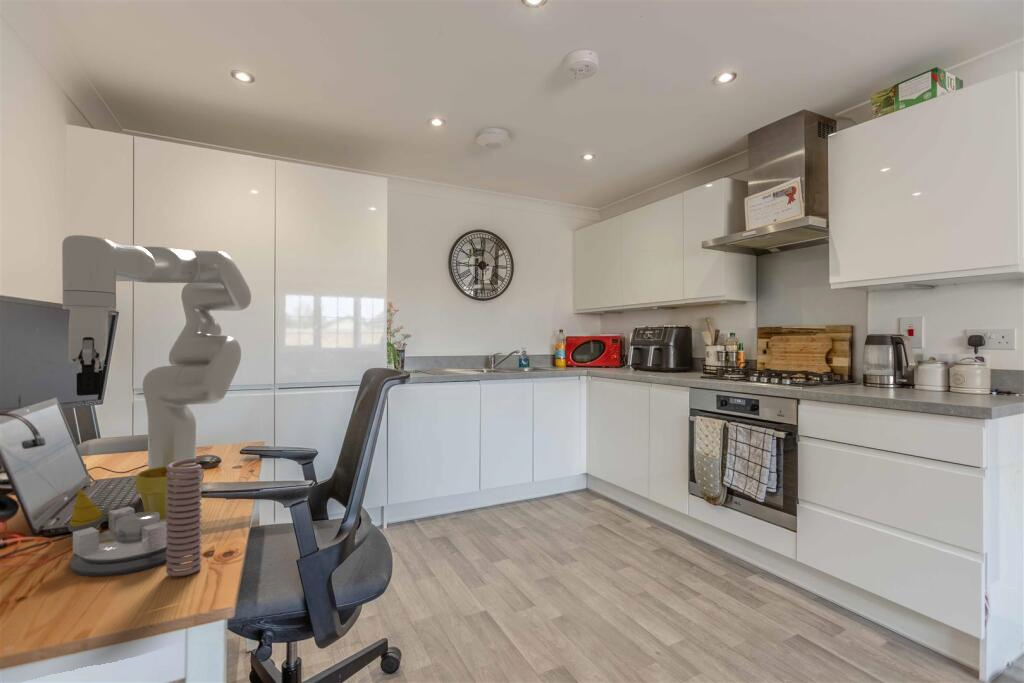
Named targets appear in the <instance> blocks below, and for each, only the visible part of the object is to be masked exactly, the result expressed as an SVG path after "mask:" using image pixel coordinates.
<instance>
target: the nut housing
mask: <svg viewBox="0 0 1024 683" xmlns="http://www.w3.org/2000/svg"><path fill="white" fill-rule="evenodd" d="M186 544H189V543H186ZM183 545H184V544H183ZM187 550H191V549H187ZM187 550H183V551H187ZM166 556H167V553H166V550H164V551H161V552H158V553H155V554H152V555H149V556H145V557H141V558H137V559H132V560H127V561H121V562H113V563H89V562H84V561H82V560H81V559H79V556H78V555H77V554H75V553H74V552H73V553H72V556H71V558H70V562H69V563H70V571H71V572H72V573H73V574H75V575H76V576H77V575H78V576H81V577H90V578H91V577H92V578H96V577H97V578H99V577H101V578H103V577H104V578H106V577H116V576H124V575H129V574H134V573H138V572H142V571H145V570H149V569H153V568H155V567H159V566H161V565H166V562H167V560H166Z"/></svg>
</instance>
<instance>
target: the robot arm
mask: <svg viewBox="0 0 1024 683" xmlns="http://www.w3.org/2000/svg"><path fill="white" fill-rule="evenodd" d="M61 246H62V247H61V248H62V250H61V254H62V260H61V261H62V267H61V270H62V272H61V274H62V275H61V276H62V310H66V311H67V310H68V311H69V318H68V319H69V320H68V321H69V322H68V353H67V354H68V357H67V360H68V362H70V363H71V364H72V363H76V362H77V360H78V362H77V373H76V396H79V397H81V396H96V395H101V392H102V390H103V388H104V371H103V369H102V362H103V361H104V360H106V356H107V350H108V337H109V336H108V335H109V334H108V332H109V329H108V328H109V312H116V311H117V282H136V283H147V284H185V285H184V286H183V288H182V289H181V297H180V298H181V302H182V307H183V312H184V316H185V325H184V327H183V329H182V330H181V332H180V334H179V335H178V337H177V339H176V341H175V342H174V344H173V346H172V347H171V349H170V351H169V354H168V361H169V365H164V366H163V365H162V366H158V367H156V368H153V369H151V370H149V371H148V372H147V373H146V374H145V375H144V377H143V380H142V392H143V398H144V400H145V406H146V412H147V469H151V468H156V467H161V466H167V465H168V464H170V463H172V462H175V461H179V460H183V459H189V458H197V421H196V417H195V415H194V413H193V412H192V411H191V409H190V407H189V406H188V405H211V404H212V405H213V404H217V403H219V402H220V401H222V400H223V399H224V398H225V396H226V395H227V393H228V390H229V388H230V387H231V384H232V382H233V379H234V377H235V376H236V373H237V372H238V368H239V366H240V363H241V359H242V349H241V345H240V343H239V341H238V340H237V339H236V338H234V337H232V336H228V335H222V327H221V324H220V323H219V322H218V321H217V319H216V318H215V317H214V316H212V314H211V312H210V311H214V312H215V311H218V312H219V311H228V312H231V311H232V312H235V311H236V312H237V311H238V312H239V311H243V310H245V309H247V308H248V307H249V306H250V304H251V301H252V292H251V290H250V287H249V285H248V283H247V281H246V279H245V278H244V276H243V274H242V273H241V271H240V269H239V267H238V266H237V264H236V263H235V261H234V259H233V258H232V257H231V256H229V255H228V253H226V252H224V251H220V250H195V249H194V250H193V249H192V250H191V249H182V248H181V249H180V248H173V247H165V246H139V245H136V244H128V243H127V244H126V243H119V242H113V241H111V240H109V239H106V238H105V237H104V238H103V237H99V236H92V235H91V236H90V235H84V234H83V235H82V234H81V235H80V234H79V235H76V234H74V235H68V236H66V237H65V238H64V239H63V240H62V245H61ZM190 464H197V463H188V464H182V465H190ZM140 497H141V495H140V494H139V498H140Z"/></svg>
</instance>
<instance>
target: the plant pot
mask: <svg viewBox="0 0 1024 683" xmlns="http://www.w3.org/2000/svg"><path fill="white" fill-rule="evenodd" d="M179 466H184V465H178V466H175V468H176V467H179ZM166 467H167V466H161V467H156V468H151V469H148V468H147V469H144V470H142V471H140V472H138V473H137V474H136V476H135V490H136V492H137V493H138V494H139V496H140V495H141V499H142V505H143V510H144V512H147V511H155V512H159V514H160V520H162V519H166V518H167V515H166V511H167V510H168V509H167V508H166V505H167V502H166V498H167V495H166V492H167V491H168V490H167V489H166V486H167V483H166V479H167V478H168V477H167V476H166V473H167V472H168V471H167V470H166ZM173 474H177V473H173ZM174 480H177V479H174ZM173 487H175V486H173ZM173 493H175V492H173ZM174 499H175V498H174ZM173 506H174V505H173Z"/></svg>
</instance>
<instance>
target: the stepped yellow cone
mask: <svg viewBox="0 0 1024 683" xmlns="http://www.w3.org/2000/svg"><path fill="white" fill-rule="evenodd" d="M77 492H78V493H77V495H76V499H75V503H74V507H73V510H72V514H71V519H70V520H69V521H68V523H67V530H68V531H69V532H71V533H73V532H75V531H79V530H83V529H86V528H90V527H93V528H95V529H97V528H98V526H100V525H101V524H103V523H104V522H105V521H107V515H106V512H105V511H104V510H100V508H98V506H97V505H95V503H94V501H92V500H91V499H90V498H89V497H88V496H87V495H86V494H85V493H84V491H83V490H82V489H81V488H79V489H78V491H77Z"/></svg>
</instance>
